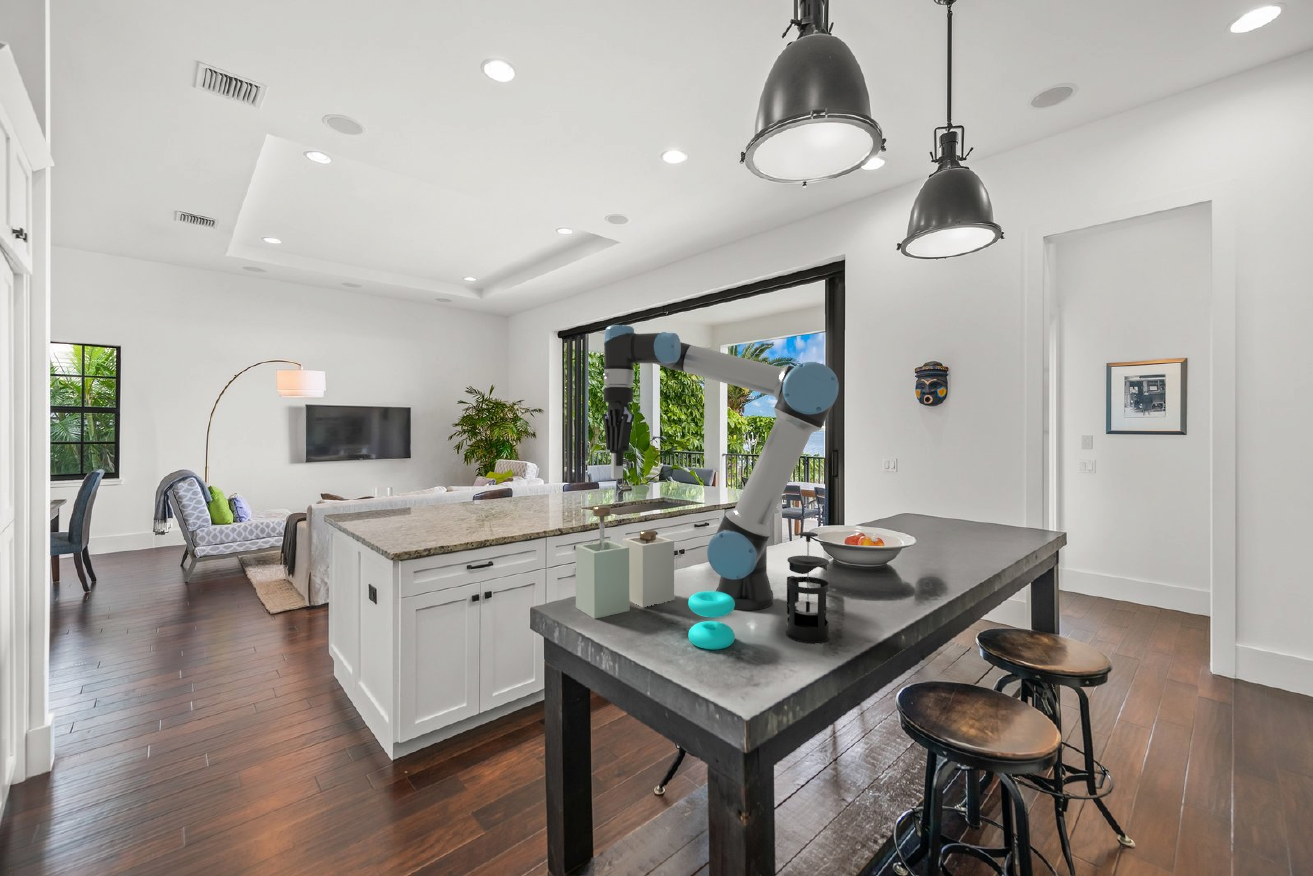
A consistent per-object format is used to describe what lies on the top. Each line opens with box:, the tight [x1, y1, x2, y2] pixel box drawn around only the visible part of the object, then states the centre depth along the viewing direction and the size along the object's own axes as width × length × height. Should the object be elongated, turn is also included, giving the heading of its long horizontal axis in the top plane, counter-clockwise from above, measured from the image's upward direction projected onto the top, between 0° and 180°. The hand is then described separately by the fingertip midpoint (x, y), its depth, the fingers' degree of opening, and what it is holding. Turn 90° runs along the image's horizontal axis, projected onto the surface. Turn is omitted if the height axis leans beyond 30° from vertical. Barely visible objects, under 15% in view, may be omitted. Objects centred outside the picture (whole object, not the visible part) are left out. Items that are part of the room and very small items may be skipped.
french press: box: [785, 531, 831, 645], centre depth 123 cm, size 12×9×23 cm
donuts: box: [687, 590, 736, 650], centre depth 119 cm, size 10×10×10 cm
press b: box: [574, 540, 631, 620], centre depth 140 cm, size 10×10×16 cm
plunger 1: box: [592, 505, 612, 551], centre depth 140 cm, size 7×7×13 cm
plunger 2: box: [639, 529, 657, 544], centre depth 148 cm, size 7×7×13 cm
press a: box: [621, 535, 675, 608], centre depth 148 cm, size 10×10×16 cm
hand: (616, 478), depth 143 cm, fingers closed
